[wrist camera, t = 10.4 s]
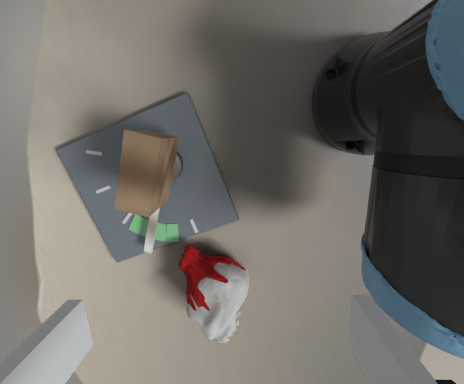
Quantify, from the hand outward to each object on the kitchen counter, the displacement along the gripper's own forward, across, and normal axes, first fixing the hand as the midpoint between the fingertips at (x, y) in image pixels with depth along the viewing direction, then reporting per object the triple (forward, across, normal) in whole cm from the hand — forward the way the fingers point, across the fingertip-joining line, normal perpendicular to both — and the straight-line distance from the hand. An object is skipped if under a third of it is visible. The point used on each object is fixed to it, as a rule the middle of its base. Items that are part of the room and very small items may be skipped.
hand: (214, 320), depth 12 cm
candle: (+27, -4, -14) cm, 31 cm away
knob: (+25, -11, +1) cm, 28 cm away
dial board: (+27, -13, +2) cm, 30 cm away
